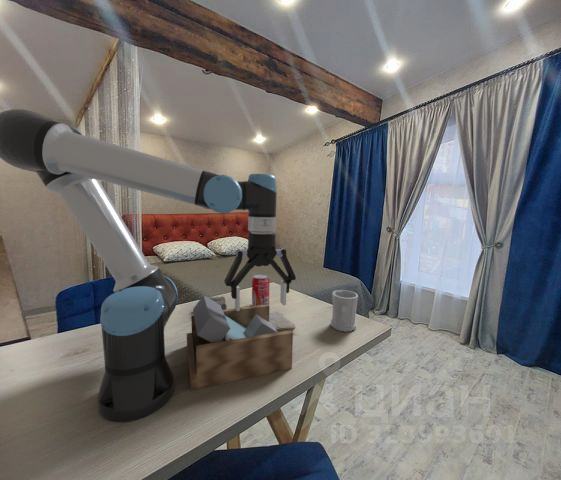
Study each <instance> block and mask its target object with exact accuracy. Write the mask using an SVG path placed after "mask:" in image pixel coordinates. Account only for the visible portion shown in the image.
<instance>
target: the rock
mask: <svg viewBox="0 0 561 480" xmlns="http://www.w3.org/2000/svg"><path fill="white" fill-rule="evenodd" d="M208 298H209V299H211V300H213V301H215V302H216V303H218V304H220V305H221V308H222V310H225V309H228V308H227V304H226V297H225V296H223V295H222V296H220V297H219V296H210V297H209V296H208Z"/></svg>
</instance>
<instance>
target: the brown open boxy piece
mask: <svg viewBox="0 0 561 480" xmlns="http://www.w3.org/2000/svg"><path fill="white" fill-rule="evenodd" d="M223 312H224V315H225V316H227V317H229V318H230V319H232V320H234V321H236V322H237V323H239V324H241V325H243V326H244V327H246V328H247V326H248V325H249V324H250V322H251V321H252V319H253V318H254V316H255V315H258V316H260V317H261V318H263V319H264V320H266V321H268V322H269V313H270V304H269V305H268V304H266V305H258V306H253V305H252V306H243V307H240V311H236V309H235V307H234V308H226V309H225V310H223ZM190 316H191V318H190V321H191V332H187V333H186V351H187V360H188V361H187V362H188V363H187V364H188V375H189V387H190V391H195V390H200V389H203V388H208V387H213V386H217V385H221V384H222V385H223V384H227V383H231V382H236V381H241V380H245V379H250V378H255V377H259V376H263V375H268V374H273V373H277V372H281V371H285V370H290V369H291V370H292V368H293V343H294V342H293V339H294V332H292V331H291V330H289V331H283V332H277V333H271V334H265V335H258V336H252V337H246V338H240V339H234V340H228V341H226V340H225V337H224V338H223V340H222V341H221V342H216V343H211V342H210V341H208V340H206V339H204V338H202V337H200V336H198V335H197V331H196V325H195V319H194V313H191V315H190ZM194 348H195V349H194Z"/></svg>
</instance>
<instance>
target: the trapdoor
mask: <svg viewBox="0 0 561 480" xmlns="http://www.w3.org/2000/svg"><path fill="white" fill-rule="evenodd" d="M192 311H193V313H194V319H195V325H196V331H197V335H198V336H200V337H202V338H204V339H206V340H208V341H210V342H211V343H216V342H221V341H222V340H223V338H224V337H225V340H226V341H228V340H234V339H240V338H246V337H247V336H246V334H245V332H244V331H245V329H246V327H244V326H243V325H241V324H239V323H237V322H236V321H234V320H232V319H230V318H229V317H227V316H225V315H224V312H223V310H222V308H221V305H220V304H218V303H216V302H215V301H213V300H211V299H209V296H206V295H204V294H202V296H201V298H200V299H199V301H198V302H197V303H196V304H195V305H194V307H193V309H192ZM193 313H192V314H193Z"/></svg>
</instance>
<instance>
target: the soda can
mask: <svg viewBox="0 0 561 480" xmlns="http://www.w3.org/2000/svg"><path fill="white" fill-rule="evenodd" d="M251 298H252V299H251V305H252V306H258V305H266V304H268V305H269V306H270V278H269V274H266V273H264V274H263V273H258V274H254V275H253V276H252V281H251Z"/></svg>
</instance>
